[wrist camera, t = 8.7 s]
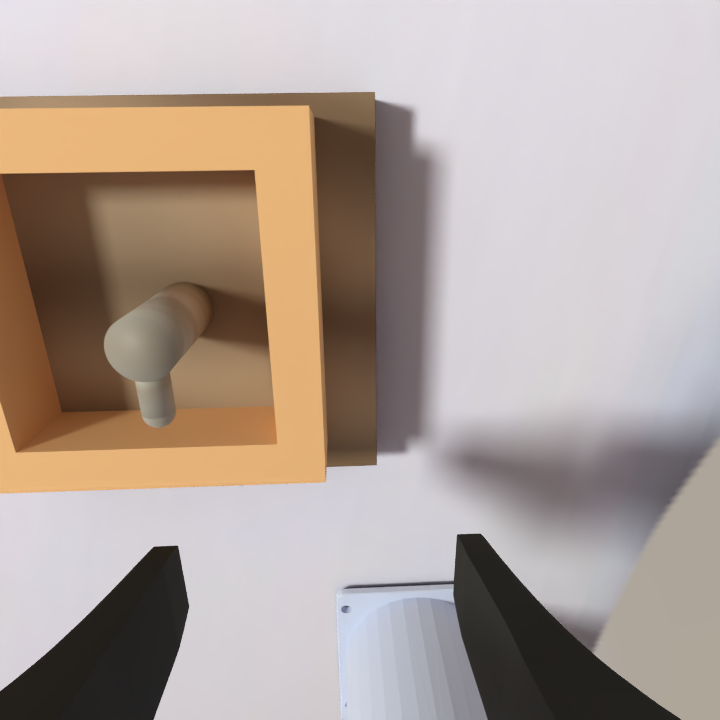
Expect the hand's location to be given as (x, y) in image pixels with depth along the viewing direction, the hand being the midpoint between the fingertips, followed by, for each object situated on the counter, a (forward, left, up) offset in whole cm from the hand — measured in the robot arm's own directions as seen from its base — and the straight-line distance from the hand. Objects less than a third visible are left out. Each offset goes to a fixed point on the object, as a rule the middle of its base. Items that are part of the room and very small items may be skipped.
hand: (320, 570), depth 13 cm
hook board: (+5, +5, -9) cm, 12 cm away
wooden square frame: (+5, +6, -8) cm, 11 cm away
